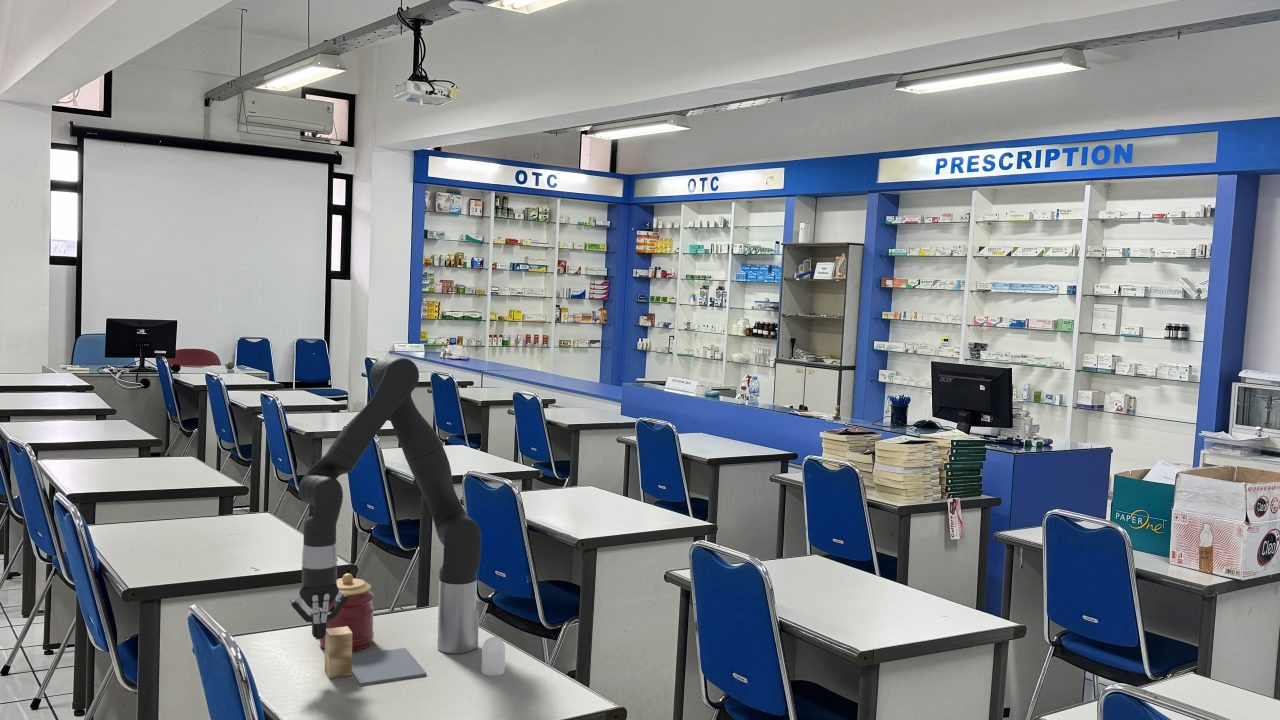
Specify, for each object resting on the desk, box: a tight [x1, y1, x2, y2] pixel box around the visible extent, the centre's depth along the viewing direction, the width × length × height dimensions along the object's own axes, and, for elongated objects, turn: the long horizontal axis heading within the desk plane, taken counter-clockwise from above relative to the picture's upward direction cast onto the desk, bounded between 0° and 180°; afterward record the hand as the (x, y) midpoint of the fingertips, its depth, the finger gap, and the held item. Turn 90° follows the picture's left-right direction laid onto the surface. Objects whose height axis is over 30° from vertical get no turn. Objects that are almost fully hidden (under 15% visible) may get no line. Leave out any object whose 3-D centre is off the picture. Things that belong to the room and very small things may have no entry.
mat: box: [352, 647, 427, 687], centre depth 237 cm, size 15×18×1 cm
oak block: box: [324, 626, 353, 680], centre depth 232 cm, size 5×5×10 cm
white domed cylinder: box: [481, 636, 506, 676], centre depth 237 cm, size 5×5×8 cm
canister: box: [318, 573, 375, 652], centre depth 251 cm, size 13×13×18 cm
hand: (318, 638), depth 229 cm, fingers closed
